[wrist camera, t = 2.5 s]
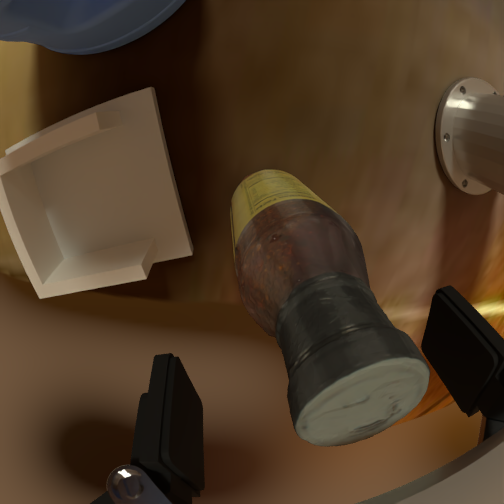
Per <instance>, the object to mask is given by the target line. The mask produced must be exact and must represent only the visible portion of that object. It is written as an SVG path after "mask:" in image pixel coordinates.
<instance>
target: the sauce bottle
mask: <svg viewBox="0 0 504 504" xmlns="http://www.w3.org/2000/svg"><path fill="white" fill-rule="evenodd" d="M230 217H231V230H232V240H233V253H234V262H235V270H236V274H237V277H238V283H239V291H240V293H241V298H242V301H243V304H244V306H245V308H246V309H247V311H248V313H249V315H250V316H251V317H252V318H253V319H254V320H255V321H256V323H257V324H258V325H260V327H262V328H263V330H264V331H265V332H266V333H268V335H270V336H273V337H275V338H276V339H277V343H278V345H279V347H280V348H281V349H282V354H283V356H284V360H285V365H286V369H287V373H288V378H289V385H288V394H287V398H288V403H289V407H290V414H291V417H292V421H293V426H294V429H295V431H296V433H297V435H298V436H299V437H300V438H301V439H303V440H306V441H308V442H309V443H311V444H314V445H318V446H341V445H347V444H351V443H355V442H358V441H360V440H364V439H367V438H370V437H372V436H374V435H376V434H378V433H380V432H382V431H384V430H385V429H387V428H389V427H390V426H391V425H393V424H394V423H395V422H397V421H398V420H400V419H401V418H403V417H405V416H406V415H407V414H408V413H409V412H410V411H411V410H412V409H413V408H415V407H416V406H417V405H418V403H419V402H420V401H421V399H422V397H423V396H424V394H425V392H426V391H427V387H428V382H429V375H430V370H429V367H428V365H427V363H426V361H425V359H424V358H423V356H422V355H421V353H420V351H419V349H418V348H417V347H416V345H415V344H414V342H413V341H412V339H411V338H410V337H409V336H408V335H407V334H406V333H405V332H403V331H400V330H399V329H397V328H395V327H394V326H393V324H392V323H391V321H390V320H389V319H388V317H387V315H386V314H385V313H384V312H383V310H382V309H381V308H380V306H379V305H378V304H377V300H376V298H375V296H374V294H373V292H372V291H371V290H370V285H369V279H368V274H367V269H366V263H365V259H364V254H363V250H362V246H361V243H360V241H359V239H358V237H357V235H356V233H355V232H354V230H353V229H352V228H351V226H350V225H349V224H348V222H346V221H345V220H344V219H343V218H342V217H341V216H340V215H339V214H338V213H337V212H335V211H334V210H333V209H332V208H331V207H330V206H328V205H327V204H326V203H325V202H324V201H323V200H321V199H320V198H319V197H318V196H317V195H316V194H314V193H313V192H312V191H311V190H310V189H309V188H307V187H306V186H305V185H304V184H303V183H302V182H300V181H299V180H298V179H297V178H295V177H294V176H293V175H291V174H289V173H286V172H283V171H280V170H274V169H273V170H267V169H266V170H261V171H258V172H256V173H253V174H249V175H248V176H246V177H245V178H244V179H243V180H242V182H241V183H240V184H239V185H238V187H237V189H236V191H235V192H234V195H233V197H232V200H231V208H230Z"/></svg>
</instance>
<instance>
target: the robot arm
mask: <svg viewBox="0 0 504 504" xmlns="http://www.w3.org/2000/svg"><path fill="white" fill-rule="evenodd" d="M435 135H436V146H437V153H438V156H439V160H440V163H441V166H442V168H443V171H444V173H445V174H446V176H447V177H448V179H449V181H450V182H451V183H452V184H453V185H454V186H455V187H457V188H458V189H460V190H461V191H464V192H466V193H468V194H471V195H481V194H484V193H486V192H489V191H490V190H491V189H493V190H495V191H497V192H499V193H501V194H503V195H504V96H502V95H499V93H498V92H497V91H496V90H495V88H494V87H493V86H492V85H490V84H489V83H487V82H486V81H484V80H481V79H478V78H462V79H460V80H458V81H456V82H454V83H453V84H452V85H451V86H450V87H449V88H448V89H447V91H446V92H445V94H444V95H443V98H442V100H441V102H440V105H439V108H438V112H437V118H436V126H435ZM421 348H422V351H423V353H424V355H425V356H426V358H427V359H428V361H429V362H430V363H431V365H432V366H433V368H434V369H435V371H436V372H437V374H438V375H439V377H440V378H441V380H442V381H443V383H444V384H445V386H446V387H447V389H448V390H449V392H450V394H451V395H452V397H453V398H454V400H455V401H456V403H457V405H458V406H459V408H460V409H461V411H462V412H464V413H466V414H467V415H468V417H470V416H472V415H474V414H475V413H477V412H478V411H479V410H480V411H481V413H482V420H481V427H480V433H479V438H478V444H477V446H476V447H475V448H473V449H471V450H470V451H468V452H466V453H465V454H463V455H462V456H460V457H458V458H457V459H455V460H453V461H451V462H449V463H448V464H446V465H444V466H442V467H440V468H438V469H437V470H435V471H433V472H431V473H429V474H427V475H425V476H423V477H421V478H419V479H417V480H414V481H412V482H410V483H408V484H406V485H403V486H401V487H399V488H396V489H394V490H391V491H389V492H387V493H384V494H382V495H379V496H376V497H373V498H371V499H368V500H365V501H362V502H359V503H356V504H504V339H503V338H502V337H501V336H500V335H499V334H498V333H497V331H496V330H495V329H494V328H493V327H492V326H491V325H490V324H489V323H488V322H487V321H486V320H485V319H484V318H483V317H482V316H481V314H480V313H479V312H478V311H477V310H476V309H475V308H474V307H473V306H472V305H471V304H470V303H469V302H468V301H467V300H466V299H465V298H464V297H463V296H462V295H461V294H460V293H459V292H458V291H456V290H455V289H454V288H453V287H452V286H446V287H443V288H440V289H438V290H437V291H436V293H435V295H434V296H433V299H432V303H431V308H430V312H429V317H428V321H427V325H426V329H425V333H424V336H423V340H422V344H421ZM204 487H205V482H204V453H203V406H202V402H201V400H200V398H199V396H198V394H197V392H196V391H195V388H194V386H193V384H192V382H191V381H190V379H189V377H188V375H187V373H186V371H185V369H184V367H183V365H182V363H181V361H180V359H179V357H174V356H173V354H171V353H169V354H161V355H155V357H154V361H153V366H152V372H151V378H150V384H149V390H148V393H143V394H142V395H141V398H140V401H139V407H138V413H137V420H136V426H135V433H134V441H133V448H132V455H131V464H130V465H124V466H120V467H118V468H116V469H115V470H114V471H113V472H111V474H110V476H109V477H108V480H107V491H106V492H105V493H104V494H103V495H102V496H100V497H98V498H97V499H96V500H94V501H93V502H92V503H90V504H192V497H200V490H204Z"/></svg>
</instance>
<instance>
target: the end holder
mask: <svg viewBox="0 0 504 504" xmlns="http://www.w3.org/2000/svg"><path fill="white" fill-rule="evenodd" d="M5 152H6V156H4V157H3V158H1V159H0V210H1V213H2V215H3V218H4V221H5V224H6V226H7V229H8V231H9V234H10V236H11V239H12V241H13V244H14V246H15V249H16V251H17V253H18V255H19V258H20V260H21V262H22V264H23V266H24V269H25V271H26V273H27V275H28V277H29V279H30V281H31V283H32V285H33V287H34V289H35V291H36V293H37V294H38V296H39V298H40V299H41V298H46V297H52V296H57V295H63V294H68V293H74V292H79V291H85V290H90V289H96V288H101V287H106V286H112V285H117V284H123V283H128V282H133V281H139V280H144V279H147V277H148V274H149V272H150V269H151V267H152V264H153V263H156V262H161V261H166V260H171V259H176V258H181V257H186V256H191V255H193V250H194V248H193V245H192V241H191V238H190V234H189V230H188V227H187V223H186V220H185V216H184V212H183V208H182V205H181V201H180V197H179V193H178V189H177V185H176V181H175V177H174V173H173V169H172V165H171V161H170V157H169V153H168V148H167V144H166V140H165V135H164V131H163V127H162V122H161V117H160V113H159V108H158V103H157V99H156V94H155V89H154V88H153V87H149V88H146V89H142V90H139V91H136V92H133V93H130V94H127V95H124V96H121V97H118V98H115V99H113V100H110V101H107V102H105V103H102V104H99V105H97V106H94V107H92V108H89V109H87V110H84V111H82V112H80V113H77V114H75V115H73V116H70V117H68V118H66V119H64V120H62V121H60V122H57V123H55V124H53V125H51V126H49V127H47V128H45V129H43V130H41V131H39V132H37V133H35V134H33V135H31V136H30V137H28V138H26V139H24V140H22V141H20V142H19V143H17V144H15V145H13V146H12V147H10V148H8V149H7V150H5Z"/></svg>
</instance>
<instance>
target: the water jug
mask: <svg viewBox="0 0 504 504" xmlns="http://www.w3.org/2000/svg"><path fill="white" fill-rule="evenodd" d="M185 1H186V0H0V40H2V41H15V42H19V41H24V42H29V43H34V44H38V45H42V46H44V47H45V48H48V49H50V50H52V51H56V52H60V53H65V54H74V55H85V54H94V53H100V52H104V51H108V50H111V49H115V48H117V47H120V46H123V45H125V44H128V43H130V42H132V41H134V40H136V39H138V38H140V37H142V36H143V35H145V34H147V33H148V32H150V31H151V30H153V29H154V28H156V27H157V26H159V25H160V24H161V23H163V22H164V21H165V20H166V19H168V18H169V17H170V16H171V15H172V14H173V13H174V12H175V11H176V10H177V9H178V8H179V7H180V6H181V5H182V4H183V3H184V2H185Z"/></svg>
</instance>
